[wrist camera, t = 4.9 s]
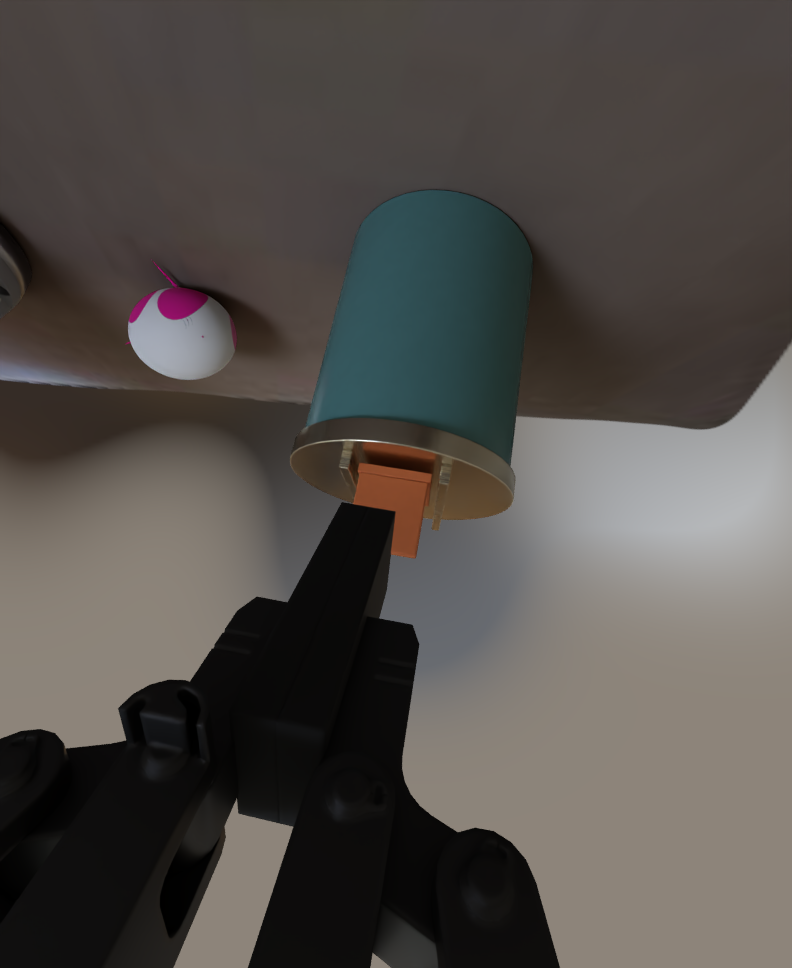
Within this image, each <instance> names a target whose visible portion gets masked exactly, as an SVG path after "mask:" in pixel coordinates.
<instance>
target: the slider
mask: <svg viewBox="0 0 792 968" xmlns="http://www.w3.org/2000/svg"><path fill="white" fill-rule="evenodd" d="M358 473H359V479H358V484H357V488H356V493H355V498H354V502H353V504H355V505H361V506H367V507H373V508H379V509H385V510H391V511H396V514H395V522H394V531H393V540H392V548H391V554H392V555H397V556H403V557H409V558H416V555H417V549H418V543H419V537H420V532H421V526H422V520H423V514H424V508H425V506H429V501H430V492H431V482H432V474H430V473H423V472H417V471H411V470H404V469H398V468H392V467H385V466H379V465H373V464H366V463H359V467H358Z"/></svg>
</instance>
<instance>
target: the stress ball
mask: <svg viewBox="0 0 792 968" xmlns="http://www.w3.org/2000/svg"><path fill="white" fill-rule="evenodd" d="M154 264H155V263H154ZM155 265H156V264H155ZM156 266H157V265H156ZM157 267H158V266H157ZM158 268H159V267H158ZM159 269H160V268H159ZM160 271H161V272H162V273H163V274H164V275H165V276H166V278H167V279H168V280H169V281H170V282H171V283H172V285H173V286H174V287H175V288H165V289H161V290H157V291H154V292H152V293H150V294H148V295H147V296H145V297H144V298H143V299H141V300H140V301H139V302H138V303H137V305H136V306H135V307H134V309H133V310H132V313H131V315H130V318H129V322H128V334H129V339H130V342H128V343H131V345H132V347H133V349H134V351H135V352H136V354H137V355H138V356H139V358H140V359H141V360H142V361H143V362H144V363H145V364H146V365H148V366H149V367H150V368H152V369H153V370H155V371H157V372H159V373H161V374H163V375H165V376H168V377H171V378H176V379H182V380H195V379H202V378H206V377H209V376H211V375H213V374H215V373H217V372H219V371H220V370H222V369H223V368H224V367H225V366H226V365H227V364H228V363H229V361H230V360H231V358H232V357H233V355H234V352H235V349H236V344H237V334H236V329H235V325H234V323H233V321H232V319H231V317H230V315H229V314H228V312H227V311H226V310H225V309H224V308H223V307H222V306H221V305H220V304H219V303H218V302H217V301H216V300H214V299H213V298H211V297H210V296H208V295H206V294H204V293H201V292H199V291H196V290H192V289H188V288H180V287H179V286H178V285H176V284H175V283H174V282H173V281H172V280H171V279H170V278H169V277H168V276H167V275H166V274H165V273H164V272H163V271H162V270H161V269H160ZM128 343H126V344H128Z"/></svg>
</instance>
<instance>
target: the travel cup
mask: <svg viewBox="0 0 792 968" xmlns="http://www.w3.org/2000/svg"><path fill="white" fill-rule="evenodd" d="M532 273H533V261H532V254H531V251H530V247H529V244H528V242H527V240H526V238H525V237H524V235H523V233H522V232H521V230H520V229H519V228H518V226H517V225H516V224H515V223H514V222H513V221H512V220H511V219H510V218H509V217H508V216H507V215H506V214H504V213H503V212H502V211H500V210H499V209H498V208H496V207H494V206H493V205H491V204H489V203H488V202H486V201H483V200H481V199H478V198H476V197H474V196H470V195H467V194H463V193H460V192H453V191H447V190H423V191H415V192H410V193H406V194H403V195H400V196H397V197H394V198H392V199H390V200H388V201H386V202H384V203H383V204H381V205H380V206H378V207H377V208H376V209H374V210H373V211H372V212H371V213H370V214H369V215H368V216H367V217H366V218H365V220H364V221H363V223H362V224H361V225H360V227H359V229H358V231H357V234H356V236H355V240H354V244H353V248H352V251H351V255H350V259H349V263H348V267H347V270H346V274H345V278H344V282H343V286H342V289H341V293H340V297H339V301H338V305H337V308H336V312H335V316H334V320H333V324H332V327H331V331H330V335H329V339H328V343H327V346H326V350H325V354H324V358H323V362H322V365H321V369H320V373H319V377H318V381H317V384H316V388H315V392H314V396H313V400H312V403H311V407H310V411H309V415H308V419H307V422H306V426H305V428H304V429H303V430H302V431H300V432H299V433H298V435H297V436H296V438H295V442H294V445H293V450H292V453H291V457H290V464H291V467H292V468H293V470H294V471H295V473H296V474H297V475H298V476H299V477H301V478H302V479H303V480H305V481H306V482H307V483H309V484H310V485H312V486H314V487H316V488H317V489H319V490H321V491H323V492H326V493H327V494H330V495H332V496H335V497H337V498H340V499H342V500H345V501H348V502H351V503H353V502H354V498H355V493H356V488H357V484H358V479H359V473H358V467H359V463H366V464H373V465H379V466H385V467H392V468H398V469H404V470H411V471H417V472H423V473H430V474H432V482H431V492H430V501H429V506H425V508H424V514H423V518H429V519H433V524H432V530H439V526H440V522H441V519H445V520H446V519H447V520H463V519H476V518H483V517H489V516H493V515H496V514H499V513H501V512H503V511H505V510H506V509H508V507H510V506H511V504H512V502H513V499H514V490H515V475H514V472H513V470H512V468H511V467H510V465H511V457H512V447H513V439H514V430H515V422H516V413H517V404H518V395H519V387H520V378H521V369H522V361H523V352H524V343H525V334H526V326H527V317H528V308H529V299H530V291H531V282H532Z"/></svg>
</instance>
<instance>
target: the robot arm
mask: <svg viewBox="0 0 792 968" xmlns="http://www.w3.org/2000/svg"><path fill="white" fill-rule="evenodd" d="M30 281H31V268H30V265H29V263H28V260H27V258H26V256H25V254H24V253H23V251H22V250H21V248H20V247H19V245H18V244H17V243H16V241H15V240H14V239H13V237H12V236H11V235H10V234H9V233H8V232H7V230H6V229H5V228H4V227H3V226H2V225H1V224H0V319H1V318H2V317H3V316H4V315H6V314H7V313H8V312H9V311H11V310H12V309H13V308H14V307H15V306H16V305H17V304H18V303H19V302H20V301H21V299H22V297H23V295H24V293H25V291H26V289H27V287H28V285H29V283H30ZM395 514H396V511H391V510H385V509H379V508H373V507H367V506H361V505H355V504H349V503H343V502H342V503H341V505H340V507H339V508H338V510H337V512H336V514H335V516H334V518H333V520H332V521H331V523H330V525H329V527H328V529H327V531H326V533H325V534H324V536H323V538H322V540H321V542H320V544H319V545H318V547H317V549H316V551H315V553H314V555H313V556H312V558H311V560H310V562H309V564H308V566H307V568H306V569H305V571H304V573H303V575H302V577H301V579H300V580H299V582H298V584H297V586H296V588H295V590H294V591H293V594H292V595H291V597H290V599H289V601H288V602H282V601H277V600H272V599H266V598H261V597H256V598H254V599H253V600H251V601H250V602H249V603H247V604H246V605H245V606H243V607H242V608H240V609H239V610H238V611H237V612H236V614H235V615H234V616H233V618H232V620H231V621H230V622H229V624H228V625H227V627H226V628H225V632H224V633H222V635H221V636H220V637H219V639H218V641H217V642H216V643H215V647H214V649H211V651H210V652H209V654H208V656H207V657H206V659H205V660H204V661H203V663H202V664H201V666H200V668H199V669H198V671H197V672H196V673H195V675H194V677H193V678H192V679H191V681H190V682H189V681H186V680H166V681H162V682H158V683H155V684H151V685H149V686H147V687H145V688H144V689H141V690H140V691H138V692H136V693H134V694H133V695H132V696H131V697H130V698H128V699H127V701H125V702H124V703H123V704H122V705H121V706H120V707H119V708H118V710H119V713H120V717H121V721H122V725H123V729H124V732H125V736H126V741H122V742H117V743H112V744H104V745H95V746H87V747H77V748H67V749H65V746H64V743H63V742H62V741H61V740H60V739H59V737H58V736H57V735H56V734H55V733H52V732H49V731H45V730H41V729H37V730H27V731H20V732H18V733H15V734H12V735H9V736H7V737H4V738H1V739H0V968H173V967H174V965H175V962H176V960H177V958H178V955H179V953H180V951H181V948H182V946H183V944H184V941H185V939H186V936H187V934H188V932H189V929H190V927H191V925H192V922H193V920H194V917H195V915H196V913H197V910H198V908H199V906H200V903H201V901H202V899H203V896H204V894H205V891H206V889H207V887H208V884H209V882H210V880H211V877H212V875H213V873H214V870H215V868H216V866H217V863H218V861H219V859H220V856H221V854H222V849H223V846H224V842H225V838H226V836H225V828H224V826H225V823H226V821H227V819H228V817H229V814H230V812H231V810H232V808H233V805H234V803H235V801H236V798H237V802H238V813H239V814H243V815H247V816H251V817H256V818H259V819H264V820H268V821H272V822H276V823H280V824H285V825H289V826H293V830H292V833H291V837H290V839H289V843H288V846H287V849H286V852H285V855H284V858H283V861H282V864H281V867H280V870H279V873H278V877H277V880H276V883H275V886H274V889H273V892H272V895H271V898H270V901H269V904H268V907H267V911H266V914H265V917H264V920H263V923H262V926H261V929H260V932H259V935H258V938H257V941H256V945H255V948H254V951H253V954H252V957H251V960H250V963H249V966H248V968H370V966H371V959H372V953H374V954H375V955H376V956H378V957H379V958H380V959H381V960H383V961H384V962H385V963H386V964H388V965H389V966H390V967H391V968H560V966H559V963H558V959H557V956H556V952H555V949H554V945H553V941H552V938H551V934H550V931H549V927H548V924H547V920H546V916H545V913H544V909H543V906H542V902H541V899H540V895H539V891H538V888H537V884H536V882H535V879H534V877H533V875H532V872H531V870H530V868H529V866H528V863H527V861H526V859H525V858H524V857H523V856H522V855H521V853H520V852H519V851H518V850H517V849H516V847H515V846H514V845H513V844H512V843H511V842H510V841H508V840H507V839H505V838H504V837H502V836H500V835H499V834H497V833H496V832H494V831H490V830H484V829H479V828H472V829H469V830H465V831H461V832H456V831H455V830H453V829H452V828H450V827H448V826H447V825H445V824H444V823H442V822H441V821H439V820H438V819H436V818H435V817H433V816H431V815H430V814H429V813H428V812H426V811H425V810H424V809H423V808H422V807H420V806H419V804H418V803H417V802H416V800H415V799H414V798H413V797H412V795H411V794H410V792H409V790H408V787H407V785H406V783H405V781H404V776H403V771H402V755H403V747H404V742H405V735H406V728H407V722H408V715H409V708H410V702H411V695H412V689H413V681H414V675H415V669H416V663H417V656H418V649H419V642H418V640H417V637H416V634H415V631H414V628H413V625H411V624H405V623H400V622H395V621H390V620H384V619H379V617H380V613H381V609H382V605H383V601H384V598H385V594H386V590H387V583H388V574H389V565H390V557H391V548H392V540H393V531H394V522H395Z"/></svg>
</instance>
